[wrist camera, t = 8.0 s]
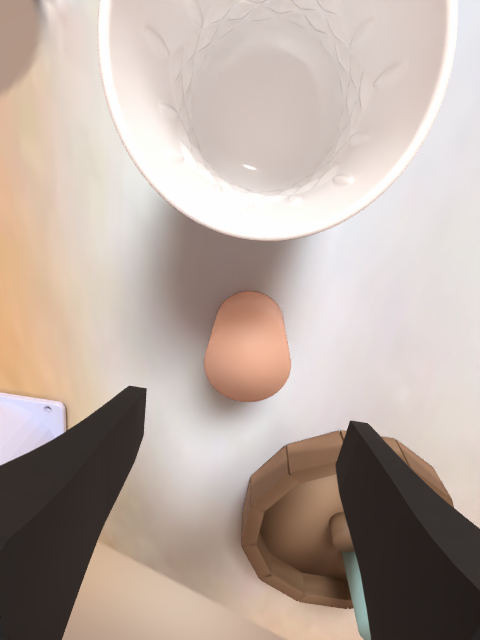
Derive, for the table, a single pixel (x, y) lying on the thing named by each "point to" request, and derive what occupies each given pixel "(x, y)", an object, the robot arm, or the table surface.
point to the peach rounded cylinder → (248, 348)
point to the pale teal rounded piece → (356, 593)
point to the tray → (308, 519)
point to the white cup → (274, 103)
